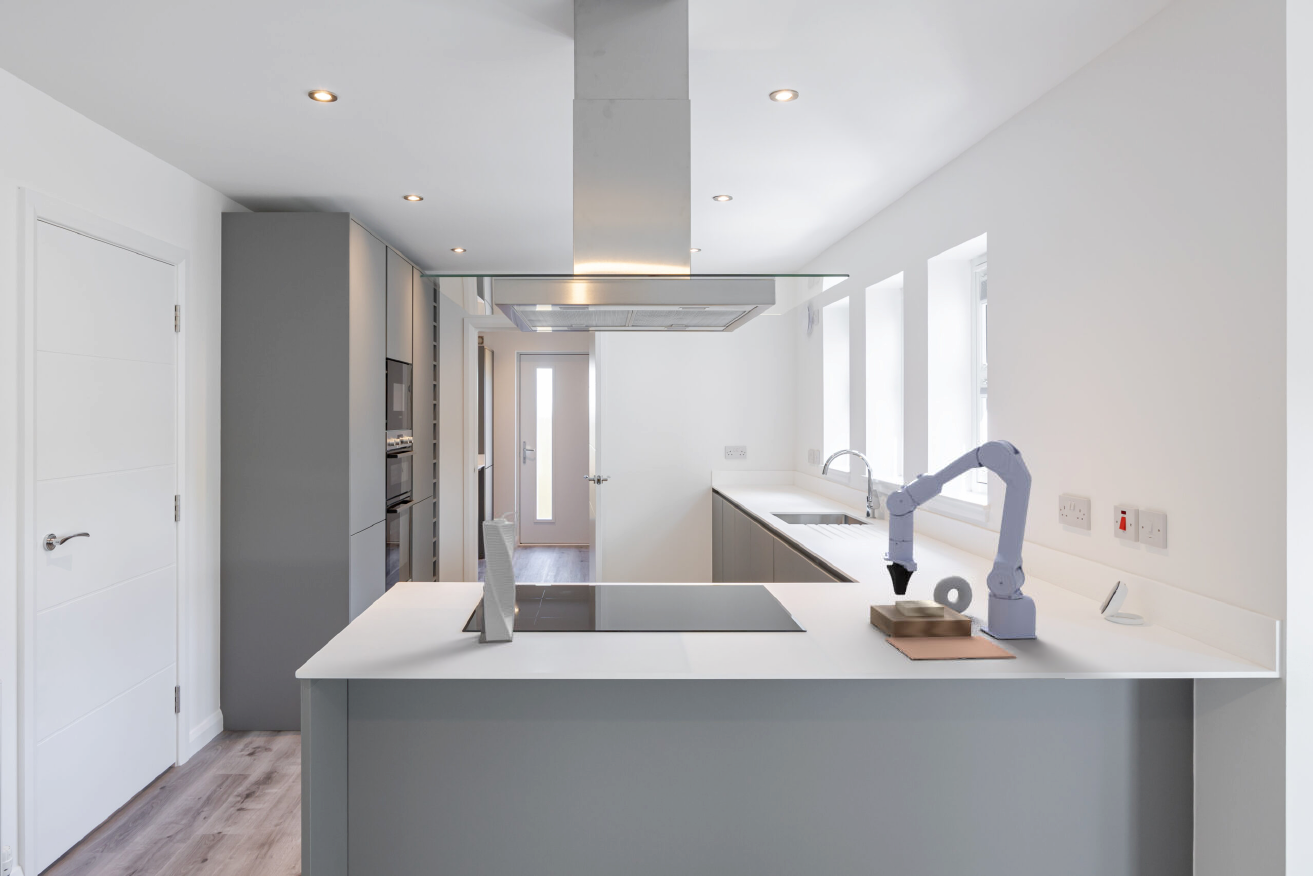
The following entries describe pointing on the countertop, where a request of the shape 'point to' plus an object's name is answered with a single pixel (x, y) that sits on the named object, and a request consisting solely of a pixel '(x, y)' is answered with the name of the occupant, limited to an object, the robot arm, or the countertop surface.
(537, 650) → the countertop surface
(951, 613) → the block
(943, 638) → the mat
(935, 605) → the cream rectangular block
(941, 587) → the donut
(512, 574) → the skyscraper
